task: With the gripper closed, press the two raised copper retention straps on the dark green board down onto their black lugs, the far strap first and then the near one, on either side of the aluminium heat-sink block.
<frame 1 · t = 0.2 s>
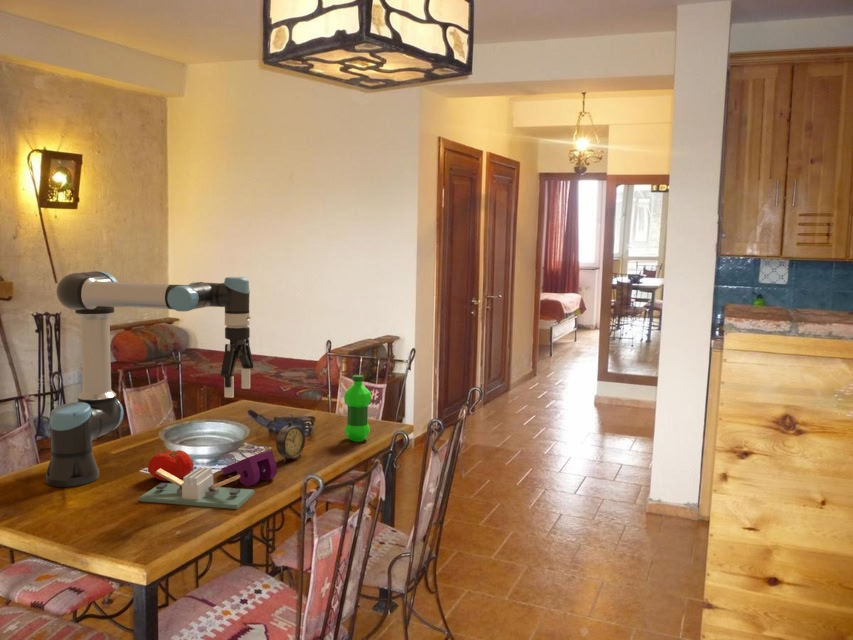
hand: (237, 392, 234), 28 cm above the table, fingers open, 13 cm apart
plastic bottle: (357, 440, 284), on the table
alarm clock: (289, 459, 257), on the table
strap far: (224, 482, 217), point 5 cm above the table, hinge at 25.0°
mounting bracket: (246, 479, 237), on the table
tomato: (171, 478, 235), on the table
strap near: (171, 478, 219), point 5 cm above the table, hinge at 25.0°
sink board: (198, 497, 219), on the table
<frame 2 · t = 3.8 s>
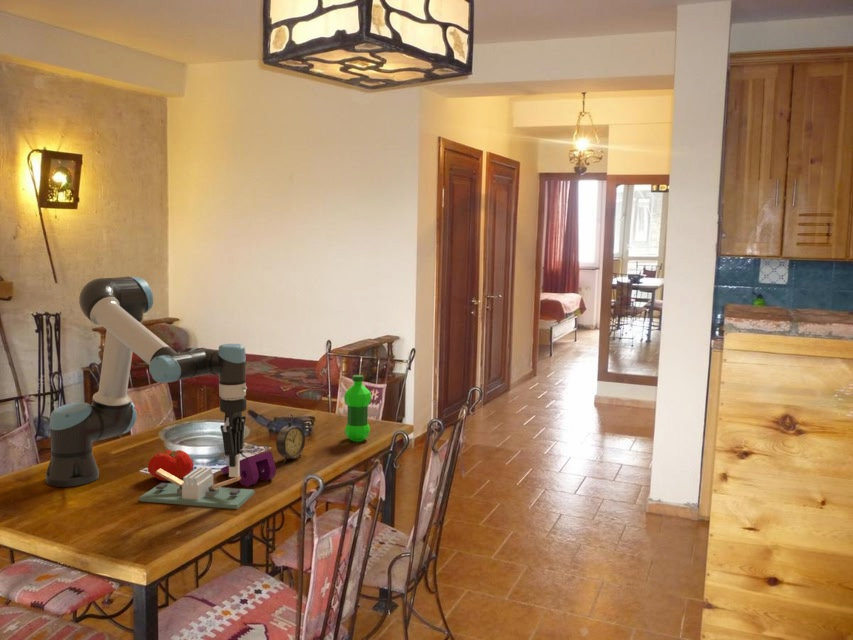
hand: (234, 476, 216), 7 cm above the table, fingers closed
strap far: (224, 483, 217), point 5 cm above the table, hinge at 21.8°, touching gripper
everything else where it was.
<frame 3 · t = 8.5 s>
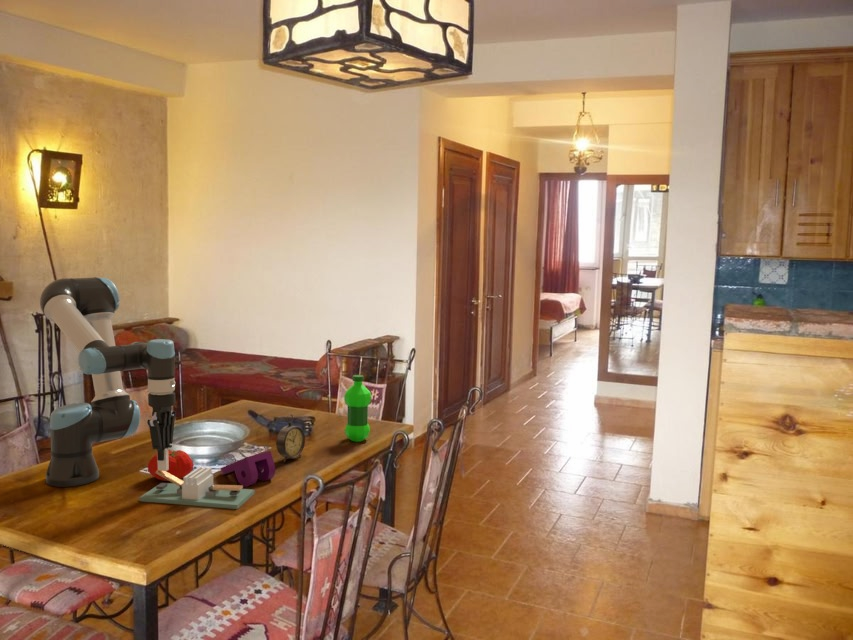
hand: (163, 469, 219), 8 cm above the table, fingers closed
strap far: (225, 487, 217), point 4 cm above the table, hinge at 3.1°
strap near: (171, 478, 219), point 5 cm above the table, hinge at 25.0°, touching gripper
everything else where it was.
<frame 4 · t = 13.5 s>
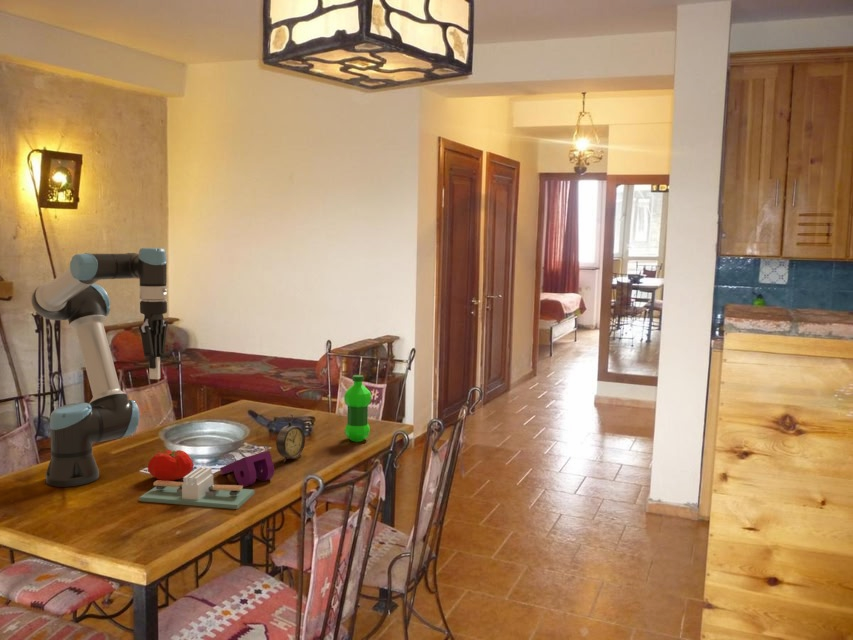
hand: (154, 378, 220), 34 cm above the table, fingers closed
strap near: (170, 483, 220), point 3 cm above the table, hinge at 0.4°
everything else where it was.
at the end: strap far at +3° (first picture: +25°); strap near at +0° (first picture: +25°) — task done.
